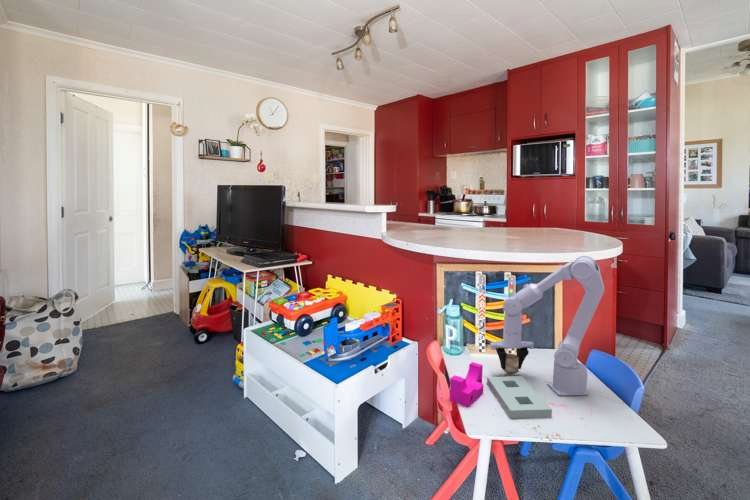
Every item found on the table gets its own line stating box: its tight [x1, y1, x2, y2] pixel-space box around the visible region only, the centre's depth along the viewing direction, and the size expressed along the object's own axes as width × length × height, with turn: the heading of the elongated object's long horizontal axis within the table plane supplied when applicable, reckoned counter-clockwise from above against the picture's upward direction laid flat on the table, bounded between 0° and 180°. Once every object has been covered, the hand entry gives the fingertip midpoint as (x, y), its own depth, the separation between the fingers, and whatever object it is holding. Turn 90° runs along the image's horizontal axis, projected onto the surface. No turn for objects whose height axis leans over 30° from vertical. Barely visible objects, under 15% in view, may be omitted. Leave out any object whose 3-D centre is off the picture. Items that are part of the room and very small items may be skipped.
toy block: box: [449, 361, 484, 408], centre depth 121 cm, size 15×6×8 cm, turn 140°
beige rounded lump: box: [503, 353, 519, 377], centre depth 133 cm, size 5×5×7 cm
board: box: [486, 375, 553, 420], centre depth 118 cm, size 12×20×2 cm, turn 2°
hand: (510, 368), depth 133 cm, fingers closed on beige rounded lump, 5 cm apart
